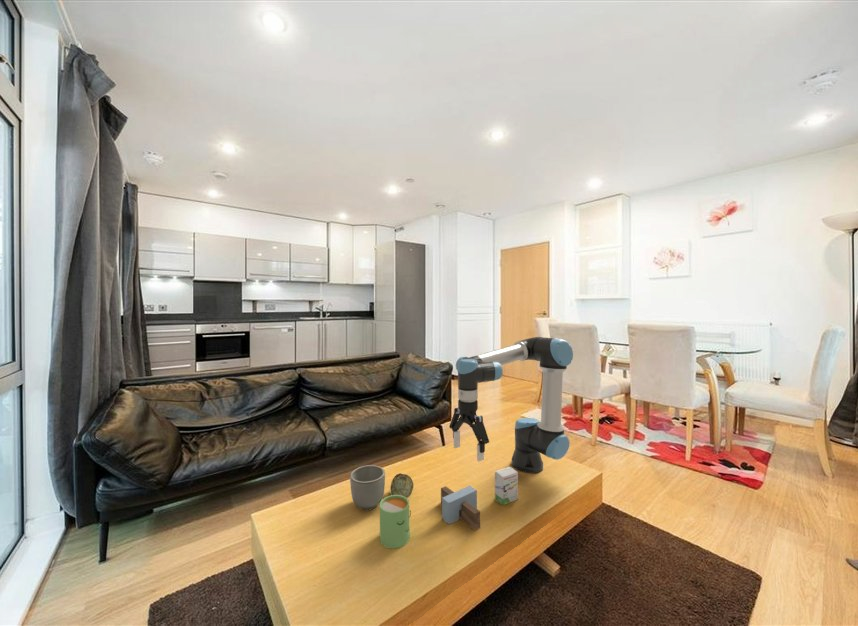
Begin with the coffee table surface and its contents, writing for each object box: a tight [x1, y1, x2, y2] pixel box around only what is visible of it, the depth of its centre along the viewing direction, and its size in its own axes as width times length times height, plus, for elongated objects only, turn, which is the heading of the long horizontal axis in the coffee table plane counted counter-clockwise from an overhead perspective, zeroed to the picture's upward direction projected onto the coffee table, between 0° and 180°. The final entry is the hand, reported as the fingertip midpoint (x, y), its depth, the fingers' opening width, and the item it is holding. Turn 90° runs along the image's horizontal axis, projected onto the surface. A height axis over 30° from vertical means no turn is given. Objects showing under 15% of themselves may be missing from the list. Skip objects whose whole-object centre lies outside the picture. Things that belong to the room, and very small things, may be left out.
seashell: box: [389, 472, 414, 499], centre depth 136 cm, size 11×11×10 cm
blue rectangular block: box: [441, 485, 478, 525], centre depth 124 cm, size 14×4×8 cm, turn 125°
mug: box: [379, 494, 412, 549], centre depth 113 cm, size 13×10×12 cm
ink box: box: [494, 466, 519, 506], centre depth 134 cm, size 8×5×12 cm, turn 118°
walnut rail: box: [440, 485, 481, 531], centre depth 124 cm, size 2×20×6 cm, turn 35°
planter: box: [349, 464, 386, 511], centre depth 131 cm, size 14×14×13 cm
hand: (468, 453), depth 127 cm, fingers open, 13 cm apart
